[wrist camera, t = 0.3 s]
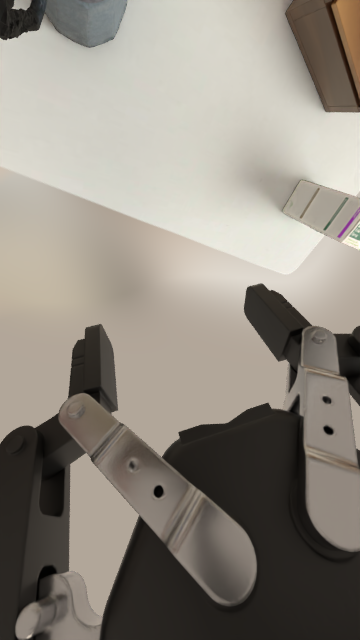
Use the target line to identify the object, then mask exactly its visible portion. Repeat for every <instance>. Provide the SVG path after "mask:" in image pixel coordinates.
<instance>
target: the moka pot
mask: <svg viewBox="0 0 360 640" xmlns="http://www.w3.org/2000/svg"><path fill="white" fill-rule="evenodd" d="M13 6H14V0H0V38H1V39H3V40H4V39H5V40H7V38H9V39H12V38H14V37H16V38H18V37H19V35H21V34H22V33H24V32H26V33H27V32H28V31H37V30H39V28H40V25H41V22H42V19H43V16H44V13H46V14H47V16H48V17H49V19H50V20H51V22H52V23H53V25H54V27H55V28H56V30H57V31H58V32H59V33H61V34H63V35H64V36H66V37H67V38H69V39H71V40H72V41H74V42H76V43H78V44H81V45H83V46H86V47H89V48H90V47H95V46H97V45H100V44H103V43H105V42H108V41H109V40H112V39H114V37H115V35H116V33H117V30H118V28H119V25H120V22H121V20H122V17H123V14H124V12H125V9H126V6H127V0H32V2H31V5H30V7H29V8H28V9H27V10H26V11H25V10H23V9H19V10H16V9H11V8H12V7H13Z"/></svg>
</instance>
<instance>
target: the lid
mask: <svg viewBox="0 0 360 640" xmlns="http://www.w3.org/2000/svg"><path fill="white" fill-rule="evenodd" d="M331 7H332V10H333V13H334V17H335V20H336V23H337V26H338V30H339V33H340V36H341V40H342V43H343V46H344V50H345V53H346V56H347V59H348V63H349V66H350V69H351V73H352V76H353V79H354V83H355V86H356V89H357V92H358V96H359V99H360V0H334V2H333V3H332V5H331Z"/></svg>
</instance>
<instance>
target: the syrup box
mask: <svg viewBox="0 0 360 640" xmlns="http://www.w3.org/2000/svg"><path fill="white" fill-rule="evenodd" d="M282 212H283V213H285V214H286V215H288V216H290V217H292V218H294V219H296V220H297V221H299V222H301V223H303V224H305V225H307V226H309V227H310V228H312V229H314V230H316V231H318V232H320V233H322V234H324V235H326V236H329V237H331V238H333V239H335V240H337V241H338V242H341V243H343V244H346V245H348V246H350V247H353V248H355V249H357V250H359V251H360V198H358V197H355V196H352V195H349V194H346V193H343V192H340V191H337V190H334V189H330V188H327V187H324V186H321V185H318V184H315V183H311V182H308V181H305V180H301V181H300V182H299V184H298V185H297V187H296V188H295V190H294V192H293V193H292V195H291V197H290V199H289V200H288V202H287V204H286V205H285V207H284V209H283V211H282Z"/></svg>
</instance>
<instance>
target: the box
mask: <svg viewBox="0 0 360 640" xmlns="http://www.w3.org/2000/svg"><path fill="white" fill-rule="evenodd" d="M333 2H334V0H294V1H293V2H292V4H291V5H290V7H289V8H288V10H287V11H286V13H285V14H286V16H287V19H288V21H289V24H290V26H291V28H292V31H293V33H294V36H295V38H296V40H297V43H298V45H299V48H300V50H301V53H302V55H303V57H304V60H305V62H306V65H307V67H308V69H309V72H310V74H311V77H312V79H313V81H314V84H315V86H316V89H317V91H318V94H319V96H320V98H321V101H322V103H323V106H324V108H325V110H326V112H360V99H359V96H358V92H357V89H356V86H355V83H354V79H353V76H352V73H351V69H350V66H349V63H348V59H347V56H346V53H345V50H344V46H343V43H342V40H341V36H340V33H339V30H338V26H337V23H336V20H335V17H334V13H333V10H332V7H331V5H332V3H333Z"/></svg>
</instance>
